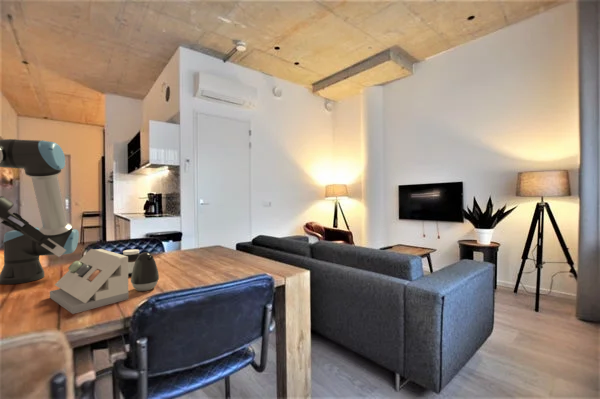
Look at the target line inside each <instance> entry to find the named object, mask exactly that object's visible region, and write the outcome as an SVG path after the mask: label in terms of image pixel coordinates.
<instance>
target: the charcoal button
mask: <svg viewBox="0 0 600 399" xmlns="http://www.w3.org/2000/svg"><path fill="white" fill-rule="evenodd" d="M90 269H91V267H89V266H88V265H87V264H83V265H82V266H80V267H79V268H78V269H77V271H76V273H77V274H79V275H80V276H82V277H83V276H84V275H85V274H86V273H87V272H88V271H89V270H90Z"/></svg>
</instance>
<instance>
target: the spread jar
mask: <svg viewBox="0 0 600 399" xmlns="http://www.w3.org/2000/svg"><path fill="white" fill-rule="evenodd" d="M122 253H123V254H122V255H124V256H128V277H131V276H132V270H133V267H134V264H135V261H136V259H137V257H138V256H139V255H140V254H141V253H140V250H139V249H126V250H123V251H122Z"/></svg>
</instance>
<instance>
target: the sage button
mask: <svg viewBox="0 0 600 399" xmlns="http://www.w3.org/2000/svg"><path fill="white" fill-rule="evenodd" d="M82 265H83V264H82V263H80V262H79V260H74V261H73V262H72V263H71V264H70V265H69V267H68V271H69V270H70V271H72V272H73V273H75V272H76V271H77V269H78V268H79V267H80V266H82Z"/></svg>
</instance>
